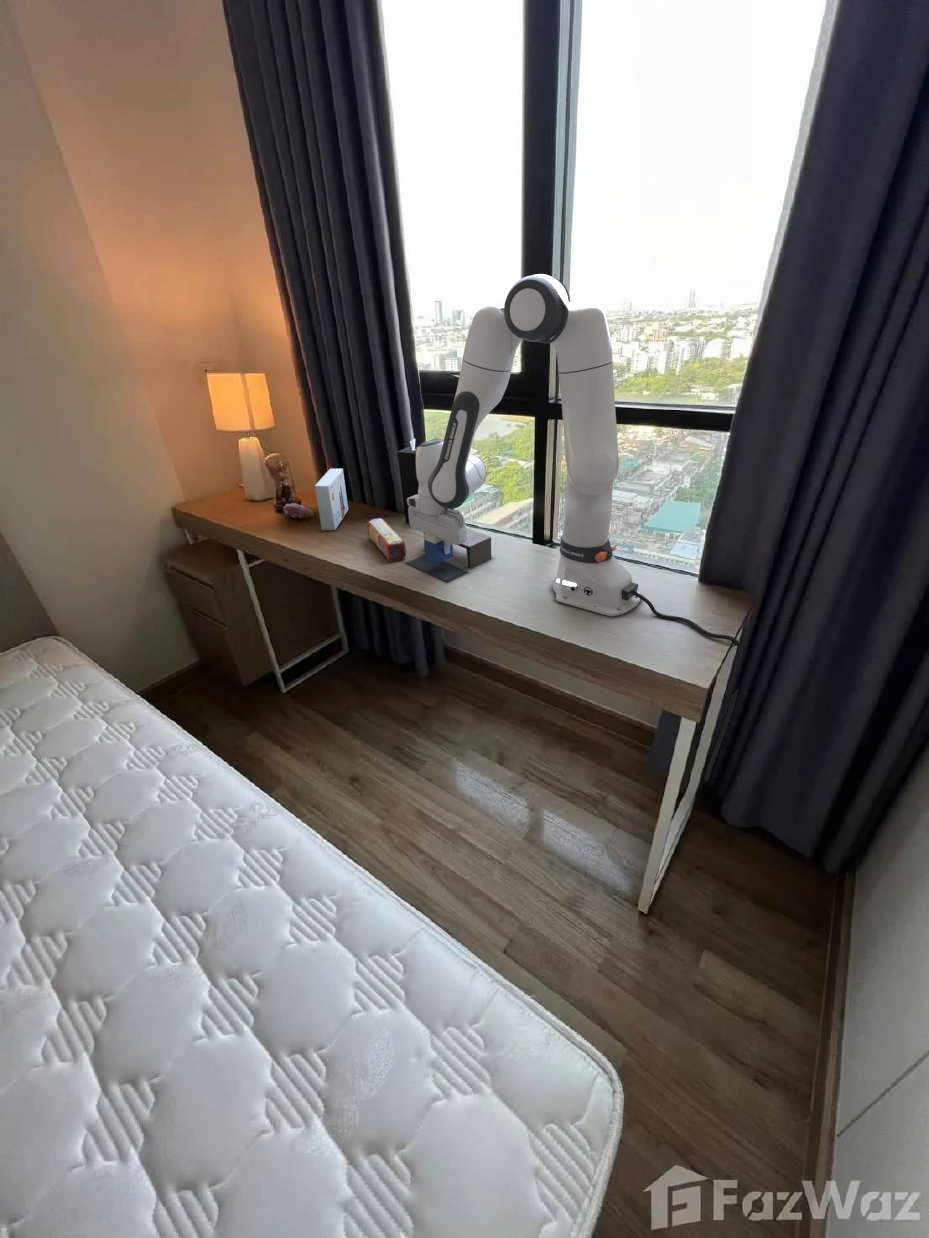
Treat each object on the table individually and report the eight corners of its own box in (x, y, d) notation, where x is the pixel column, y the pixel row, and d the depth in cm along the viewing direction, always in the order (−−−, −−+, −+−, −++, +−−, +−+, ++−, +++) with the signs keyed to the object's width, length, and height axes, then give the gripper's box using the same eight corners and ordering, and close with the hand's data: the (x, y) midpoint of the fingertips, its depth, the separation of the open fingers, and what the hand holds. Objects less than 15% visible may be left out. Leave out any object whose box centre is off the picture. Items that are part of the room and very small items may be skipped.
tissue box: (405, 523, 175) (395, 441, 160) (417, 515, 181) (409, 435, 166) (424, 526, 172) (416, 443, 157) (435, 518, 178) (429, 437, 162)
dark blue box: (453, 557, 142) (451, 531, 137) (436, 565, 138) (434, 538, 134) (442, 552, 145) (440, 527, 140) (425, 560, 141) (423, 534, 137)
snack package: (408, 559, 151) (406, 538, 147) (388, 564, 148) (385, 543, 145) (386, 535, 167) (384, 515, 163) (367, 539, 165) (364, 519, 161)
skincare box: (337, 530, 172) (328, 485, 163) (321, 531, 172) (312, 486, 164) (350, 509, 190) (343, 467, 181) (336, 509, 190) (328, 468, 181)
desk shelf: (491, 558, 148) (491, 536, 144) (470, 569, 143) (469, 546, 139) (446, 541, 161) (444, 520, 157) (425, 550, 155) (423, 529, 152)
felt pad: (467, 572, 141) (467, 571, 141) (447, 582, 137) (447, 581, 137) (426, 554, 152) (426, 554, 152) (406, 563, 148) (406, 562, 148)
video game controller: (287, 521, 186) (278, 508, 180) (292, 512, 188) (283, 498, 182) (310, 523, 183) (302, 510, 177) (315, 513, 185) (307, 500, 179)
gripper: (471, 508, 128) (472, 557, 135) (420, 492, 140) (424, 537, 148) (453, 515, 124) (456, 564, 132) (402, 497, 137) (407, 544, 144)
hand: (438, 550), depth 140 cm, fingers closed on dark blue box, 4 cm apart
